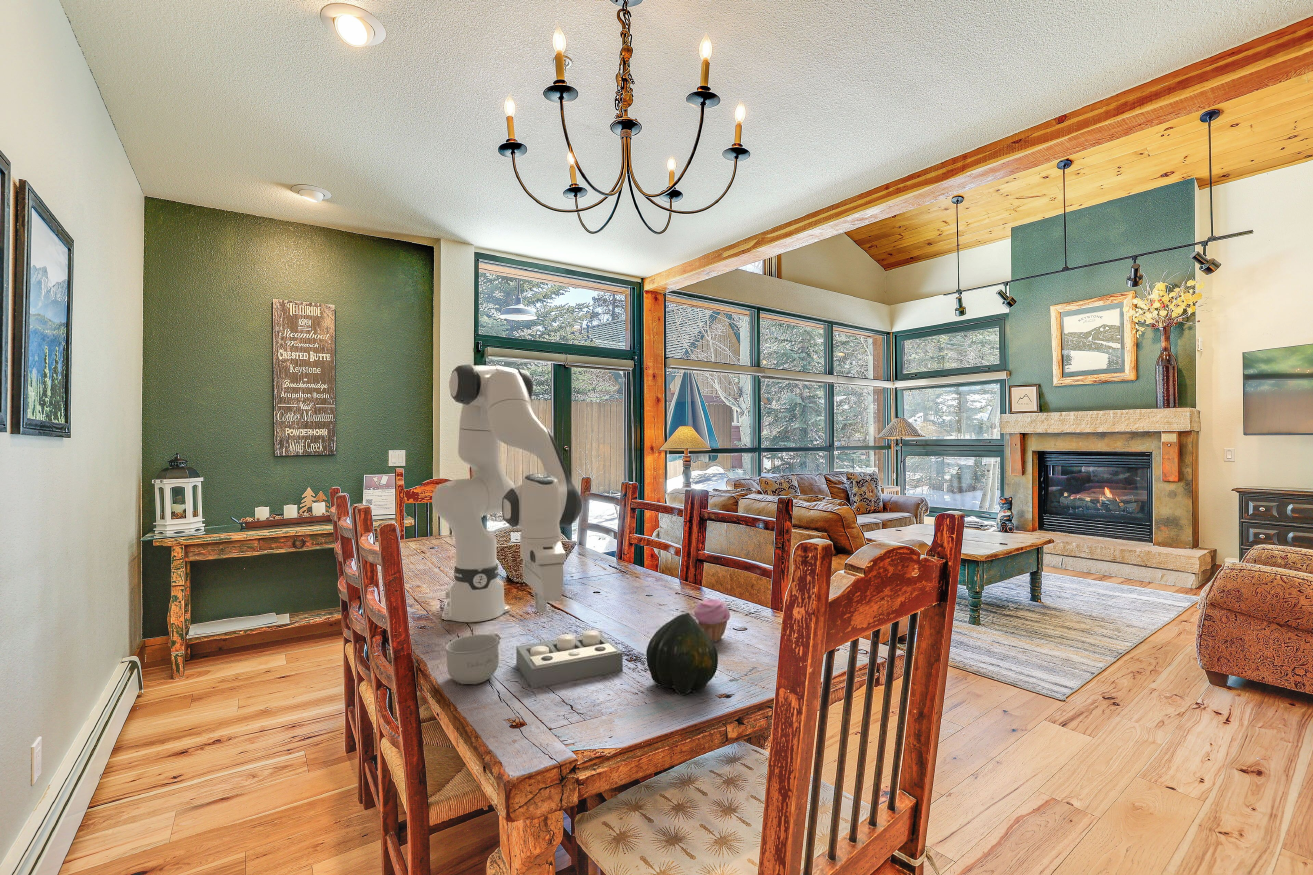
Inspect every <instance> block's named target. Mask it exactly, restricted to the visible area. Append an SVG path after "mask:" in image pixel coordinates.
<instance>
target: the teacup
mask: <svg viewBox="0 0 1313 875" xmlns="http://www.w3.org/2000/svg"><path fill="white" fill-rule="evenodd" d="M500 642H501V641H500V634H498V632H495V631H494V632H493V631H492V632H490V633H488V634H486V633H478V634H470V635H465V636H461V637H459V638H456V639H454V640H451V641H449V642H448V643H447V644H445V648H444V649H445V653H446V654H445V656H446V667H447V673H448V675H449V677H450V678H451V679H452V680H453V681H455V682H456V683H458V684H460V683H461V684H460V685H463V684H473V685H478V684H480V683H484V682H486V681H487V680H489V679H490V678H491V677H492V676H493V674H494V673H496V671H497V670H498V667H499V663H500V662H499V661H500V658H499V656H500V653H499V652H500V651H499V645H500Z"/></svg>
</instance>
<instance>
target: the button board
mask: <svg viewBox="0 0 1313 875" xmlns="http://www.w3.org/2000/svg"><path fill="white" fill-rule="evenodd" d="M536 646H546V647H548V648H549V654H544V655H538V656H532V657H531V655H530V650H531V648H533V647H536ZM515 651H516V652H515V654H516V655H515V657H516V658H515V660H516V661H515V662H516V664H515V665H516V666H517V668H518V669H519V670H520V672H521V673H522V676H524V678H525V679H526V681H527V683H528V684H529V686H530V687H531V689H532V690H533V689H536V688H537V689H538V688H542V687H547V686H551V685H557V684H562V683H568V682H573V681H577V680H578V681H579V680H583V679H587V678H592V677H593V678H594V677H598V676H602V675H607V674H611V673H612V674H613V673H617V672H618V673H619V672H622V671H624V670H623V666H624V665H623V664H624V663H623V662H624V661H623V660H624V659H623V657H624V654H623V653H624V652H623V651H622V650H621V649H619V648H618V647H617V646H616V645H615V644H614V643H613V642H612V641H610V640H609V639H608V638H606V636H605V635H603V634H602V633H601V632H600V645H596V646H590V647H583V646H582V635H576V636H575V649H573V650H567V651H561V652H558V651H557V639H553V640H546V641H541V642H535V643H534V642H533V643H529V644H528V643H527V644H523V645H521V644H520V645H516V648H515Z"/></svg>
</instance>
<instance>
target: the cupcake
mask: <svg viewBox="0 0 1313 875" xmlns="http://www.w3.org/2000/svg"><path fill="white" fill-rule="evenodd" d="M729 609H730V608H728V605H727V604H726V603H725V602H724V601H723V600H721V599H717V598H713V599H712V598H710V599H703V600H701V601H700V603H698V604H696V606H695V609H694V613H693V615H694V619H695V620H696V621H697V623H698V624H699V625H700V626H701V628H702V629H703V630H704V631H705V632H706V633H707V635H708V636H709V637H710V638H711V640H712V641H713V643H717V642H718V641H719V640H721V639H722V637H723V635H724V634H725V632H726V630H727V624H728V622H729V620H730V618H731V613H730V610H729Z"/></svg>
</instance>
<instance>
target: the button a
mask: <svg viewBox="0 0 1313 875" xmlns="http://www.w3.org/2000/svg"><path fill="white" fill-rule="evenodd" d="M544 654H549V648H548V647H546V646H536V647H533V648H531V650H530V655H531V657H532V656H538V655H544Z"/></svg>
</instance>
